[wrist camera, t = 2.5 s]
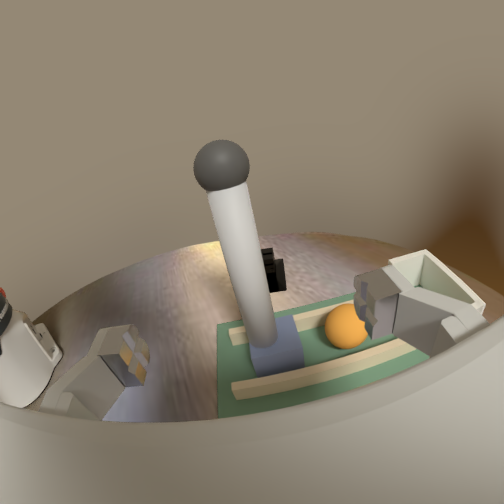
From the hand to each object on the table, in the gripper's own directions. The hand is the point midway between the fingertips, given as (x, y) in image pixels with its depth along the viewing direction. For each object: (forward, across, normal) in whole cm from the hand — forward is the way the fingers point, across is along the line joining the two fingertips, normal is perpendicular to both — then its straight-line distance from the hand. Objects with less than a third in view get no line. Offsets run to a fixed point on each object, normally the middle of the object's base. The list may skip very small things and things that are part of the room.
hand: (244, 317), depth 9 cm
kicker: (+12, 0, +17) cm, 21 cm away
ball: (+12, -9, +15) cm, 22 cm away
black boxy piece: (+30, -2, +19) cm, 36 cm away
